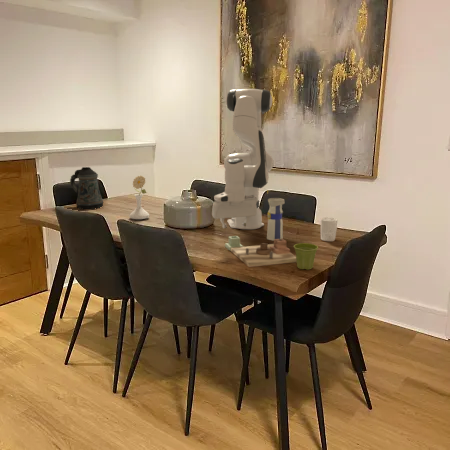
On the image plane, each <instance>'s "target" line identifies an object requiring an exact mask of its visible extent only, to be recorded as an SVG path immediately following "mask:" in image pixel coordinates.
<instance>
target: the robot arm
mask: <svg viewBox="0 0 450 450" xmlns="http://www.w3.org/2000/svg"><path fill="white" fill-rule="evenodd" d="M225 103H226V107H227V109H228V110H229V111H231V112H233V117H232V131H233V133H234V135H236V137H237V138H238V140H239V142H240V144H242V145H243V146H245V147H247V148H248V150H249V152H236V153H235V152H234V153H230V154H227V155H226V157H225V158H224V162H223V167H224V182H225V187H224V191H223V192H221V193H218V194H214V196H213V198H214V201H213V204H212V209H211V210H212V211H211V215H212V216H211V217H212V218H213V219H216V220H219V221H220V222H221V224H222V225H221V226H222V229H228V228H227V227H228V226H227V223H228V225H229V227H230V229H231V228H232V229H240V230H256V229H260V228H262V227H264V226H265V223H264V222H263V220H262V219H263V218H262V210H261V209H260V200H259V198H260V197H259V195H260V192H259V191H260V190H259V189H262V188H263V187H265V186H266V185H267V184H268V183H269V182H268V181H269V178H270V177H269V173H270V172H271V170H272V169H273V166H274V160H273V157H272V155H271V154H270V153H268V152H267V151H266V146H265V138H264V134H263V132H262V115H265V113H268V111H270V110H271V107H272V106H273V96H272V93H271V91H270V90H268V89H260V88H259V89H258V88H241V89H237V88H234V89H230V90H229V91H228V92H227V95H226V98H225ZM225 219H227V220H226V221H227V223H225V222H224V221H225Z"/></svg>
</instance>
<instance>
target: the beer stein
mask: <svg viewBox="0 0 450 450" xmlns="http://www.w3.org/2000/svg"><path fill="white" fill-rule="evenodd" d="M98 178H99V174H98V172H96V171H94V170H93V169H92V168H91V167H89V166H88V167H86V166H82V167H81V169H77V170H75V171H74V174H72V175H71V176H70V179H69V181H70V182H69V183H70V186H71V188H72V190H73V191H74V192H75V193H76V194H77V199H76V204H75V205H76V206H77V209H78V208H79V210H84V209H91V210H96V209H95V208H99V209H101V208H100V207H102V206H103V207H104V199H103V198H102V194H101V191H100V187H99V182H98ZM76 179H78V187H77V185H76V183H75V181H76ZM103 207H102V208H103Z"/></svg>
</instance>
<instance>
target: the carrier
mask: <svg viewBox="0 0 450 450" xmlns="http://www.w3.org/2000/svg"><path fill="white" fill-rule="evenodd" d="M230 252H231V253H233V254H234V255H235V256H236V257H237V258H238V259H239V260H240V261H241V262H242V263H244V264H245V266H247V267H248V268H250V267H261V266H263V267H264V266H270V265H281V264H290V263H297V259H296V254H295V255H294V254H293V253H292V252H291V249H290V248H289V247H287V240H286V239H284V238H283V239H274V241H273V243H269V244H268V243H267V242H260V243H259V244H257V245H250V246H249V245H248V246H247V245H246V246H243V247H234V248H231V251H230Z"/></svg>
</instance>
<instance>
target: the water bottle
mask: <svg viewBox="0 0 450 450" xmlns="http://www.w3.org/2000/svg"><path fill="white" fill-rule="evenodd" d="M266 194H267V195H268V194H269V191H267V193H266ZM267 203H268V205H269V209H268V211H267V216H266V217H267V228H266V229H267V232H266V233H267V234H266V239H267V240H269V241H273V242H274V239H284V237H283V235H284V234H283V229H284V228H283V226H284V224H283V223H284V222H283V221H284V220H283V213H284V211H283V209H282V208H283V205H285V199H284V198H280V197H271V198H268V199H267Z"/></svg>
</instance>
